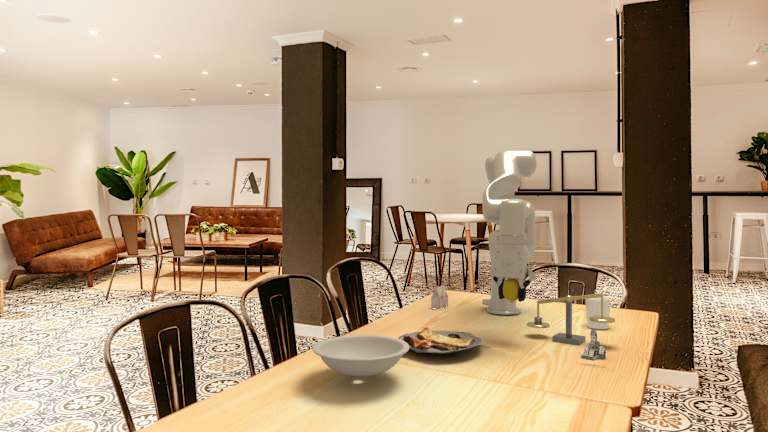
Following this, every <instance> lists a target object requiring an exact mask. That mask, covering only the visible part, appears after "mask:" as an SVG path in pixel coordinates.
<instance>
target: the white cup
mask: <svg viewBox="0 0 768 432" xmlns="http://www.w3.org/2000/svg"><path fill="white" fill-rule="evenodd" d="M584 300H585V316H586V325H587V328H589V329H591V330H607V329H609V325H610V323H599V322H593V321H590V320H589V317H592V316H601V297H599V298H589V299H584ZM610 309H611V298H609V297H605V296H603V316H605V317H610V313H611V310H610Z"/></svg>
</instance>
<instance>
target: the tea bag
mask: <svg viewBox="0 0 768 432" xmlns="http://www.w3.org/2000/svg"><path fill="white" fill-rule="evenodd" d="M430 301H431V303H430V304H431V305H430V306H431V308H436V309H441V308H443V307H446V306H448V307H449V295H448V292H447V289H446V287H445V285H440V286H436V287H434V290H433V293H432V295H431V300H430ZM431 308H430V309H431ZM441 310H442V309H441Z"/></svg>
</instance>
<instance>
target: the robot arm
mask: <svg viewBox="0 0 768 432" xmlns="http://www.w3.org/2000/svg"><path fill="white" fill-rule="evenodd" d="M537 162H538V161H537V157H536V154H535V153H534V152H533V150H530V149H508V150H507V149H506V150H502V151H499V152H498V153H497V154H495V155H490V156H488V157H487V158H486V159H485V161H484V167H485V168H484V169H485V174H486V176H487V180H488V182H489V184H488V185H487V186H486V187H485V189H484V190H483V194H482V199H481V200H482V201H481V202H482V206H481V207H482V216H483V218H484V220H485V221H486V222H489V223H494V224H495V225H496V226H498V227H499V229H495V230H493V231H491V232H490V233H489V235H488V237H487V238H488V239H487V240H488V241H487V243H488V249H489V256H490V258H489V259H490V271H489V272H488V275H489V276H490V298H489V299H482V301H481V303H482V305H485V306H488V307H486V312H488V313H490V314H493V315H502V316H503V315H506V316H511V315H517V314H520V313H521V309H520V308H519V307H517V300H518V302H524V301H525V299H526V297H527V295H526V294H527V288H528V286H529V285H530V284H532V282H534V281H535V280H536V279H537V278H538V277H537V275H536V274H535V273H534V272H533V270H532V269H531V267H530V266H531V265H530V256H529V255H531V254H533V253H534V252H535V250H536V244H537V243H536V242H537V240H536V209H535V206H534V204H533V203H532V202H531V201H528V200H524V199H523V198H516V197H515V194H516V193H515V191H517V190H518V189H519V188H520V187H521V181H522V179H521V178H529V177H531V176H532V175H534V173H535V172H536V170H537V165H538V164H537ZM528 277H529V278H528ZM509 278H510V279H516V280H518V282H519V285H520V288H519V289H518V299H517V300H515V301H514V302H513V303H511V302H510V301H509V300H507V299H506V298H505V297H504V295H503V284H504V282H505V281H506V280H507V279H509ZM526 278H527V279H526Z"/></svg>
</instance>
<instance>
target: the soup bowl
mask: <svg viewBox="0 0 768 432" xmlns="http://www.w3.org/2000/svg"><path fill="white" fill-rule="evenodd" d="M409 350H410V347H409V344H408V343H406V342H405V341H403V340H400V339H398V337H392V336H387V335H377V334H352V335H351V334H350V335H341V336H335V337H329V338H327V339H326V338H325V339H322V340H320V341H318V342H317V343H315V344H314V345H313V346H312V351H313V354H315V355H317V356H319V357H320V359H321V361H322V362H323V363H324V364H325V365H326V366H327V367H328V368H330V369H331V370H332V371H333V372H336V373H338V374H341V375H345V376H350V377H369V376H376V375H379V374H382V373H385V372H387V371H389V370H391V369H392V368H394V366H396V365H397V364H398V362H399V361H400V360H401V358H402V356H403V355H405V354H407V353H408V352H409Z"/></svg>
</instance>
